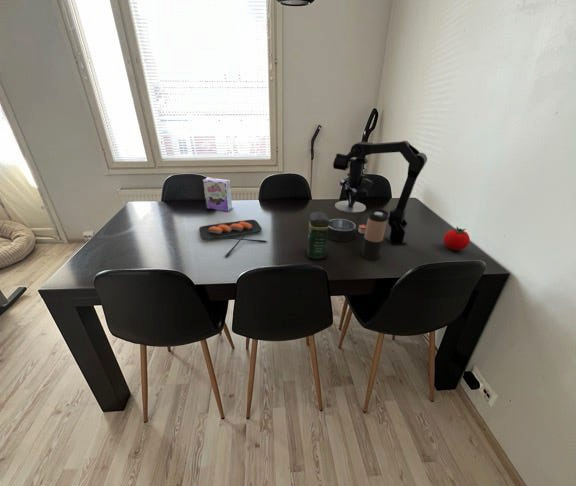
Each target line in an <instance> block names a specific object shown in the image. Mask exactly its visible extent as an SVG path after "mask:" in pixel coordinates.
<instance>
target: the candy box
mask: <svg viewBox="0 0 576 486" xmlns="http://www.w3.org/2000/svg"><path fill="white" fill-rule="evenodd" d="M202 185H203V192H204V200H205V207H206V209H210V210H214V211H219V212H230V211H231V210H232V209H233V202H232V201H233V200H232V187H231V180H230V179H223V178H215V177H210V176H207V177H205V178H204V179H202Z"/></svg>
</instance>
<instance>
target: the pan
mask: <svg viewBox="0 0 576 486" xmlns="http://www.w3.org/2000/svg"><path fill="white" fill-rule="evenodd" d="M356 229H357V225H356V223H355V222H354V221H351V220H349V219H346V218H333V219H329V229H328V237H327V239H330V240H332V241H336V242H349V241H352V240H353V239H354V238H355V235H356Z"/></svg>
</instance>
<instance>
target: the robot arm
mask: <svg viewBox="0 0 576 486" xmlns="http://www.w3.org/2000/svg"><path fill="white" fill-rule="evenodd" d="M392 153H400V154H401V155H402V157H403V158H404V160H405V161H406V162H407V163H408V166H407V177H406V180H405V181H404V185H403V187H402V190H401V193H400V196H399V199H398V202H397V204H396V206H395V207H394V206H393V207H392V208H391V210H390V211H389V215H388V219H387V223H388V225H389V227H390V233H389V237H386V240H387V241H388V242H389V243H390V244H391V245H392V246H395V245H397V246H398V245H405V244H406V241H404V238H405V234H406V229H407V227H408V225H409V224H408V222H407V221H406V219H405V217H406V213H407V212H406V211H407V206H408V203H409V200H410V198H411V195H412V192H413V190H414V187H415V185H416V182H417V179H418V177H419V175H420V174H421V172H422V171H423V169H424V167H425V166H426V164H427V162H428V156H427V155H426V154H425V153H423V152H420V151H419V150H418V149H417V148H416V147H414V146H413V145H412V144H411V143H410V142H409V141H408V140H401V141H390V142H378V143H377V142H376V143H373V142H368V141H358V142H356V143H354V144H353V145H352V146H351V147H350V151H349V152H348V153H347V154H344V153H341V152H340V153H339V152H338V153H336V154H335V157H334V160H333V162H332V163H333V164H332V168H333V169H334V170H339V171H347V170H349V172H347V174H346V175H347V177H348V178H342V179H340V181H339V185H340V186H341V187H343V188H342V189H343V191H344V194H345V197H346V201H349V198H350V204H351V206H353V205H354V203H355V202H357V199H358V198H364V197H368V195H369V191H368V190H367V189H370V188H371V186H372V185H373V181H371V179H368V176H367V175H366V174H363V169H364V165H366V164H368V163H369V159H368V158H367V157H366V156H370V155H375V154H376V155H377V154H392ZM362 157H363V158H362ZM366 188H367V189H366Z"/></svg>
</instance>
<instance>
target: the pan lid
mask: <svg viewBox="0 0 576 486" xmlns="http://www.w3.org/2000/svg"><path fill="white" fill-rule="evenodd" d="M334 207H335V209H336V210H338V211H341V212H344V213H348V214H359V213H363V212H365V211H366V210H367V207H366V205H365V204H364V203H361V202H359V201H355V203H354V205H353V206H351V204H350V198H349V201H347V200H341V201H340V200H339V201H338V202H337V201H336V202H335V204H334Z"/></svg>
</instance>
